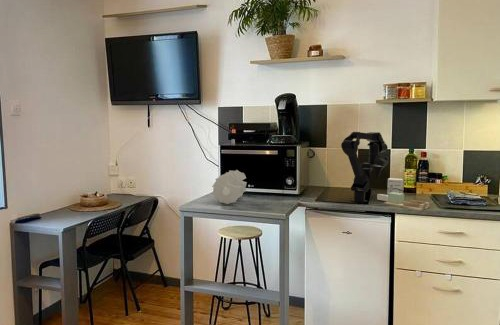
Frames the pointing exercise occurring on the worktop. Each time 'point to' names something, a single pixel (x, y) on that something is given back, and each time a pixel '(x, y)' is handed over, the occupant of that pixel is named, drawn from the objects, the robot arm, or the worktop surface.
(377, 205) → the worktop surface
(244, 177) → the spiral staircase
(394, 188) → the ink box
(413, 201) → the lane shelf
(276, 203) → the worktop surface
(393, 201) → the sage block
